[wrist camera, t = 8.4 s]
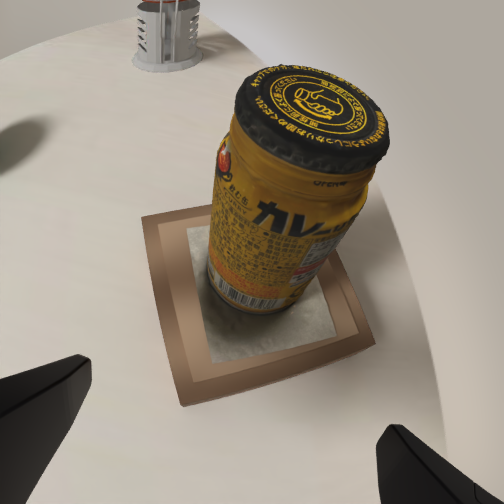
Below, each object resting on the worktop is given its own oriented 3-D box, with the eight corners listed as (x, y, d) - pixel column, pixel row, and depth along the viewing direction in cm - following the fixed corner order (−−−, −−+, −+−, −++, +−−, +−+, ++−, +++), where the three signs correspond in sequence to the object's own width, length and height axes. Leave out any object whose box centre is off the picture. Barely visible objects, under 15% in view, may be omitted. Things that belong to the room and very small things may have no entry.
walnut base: (355, 354, 21) (377, 342, 18) (183, 406, 18) (180, 404, 15) (296, 213, 26) (308, 187, 24) (146, 240, 23) (140, 214, 20)
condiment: (294, 217, 22) (360, 61, 12) (335, 337, 18) (477, 221, 8) (186, 230, 20) (186, 51, 10) (211, 365, 16) (234, 257, 6)
